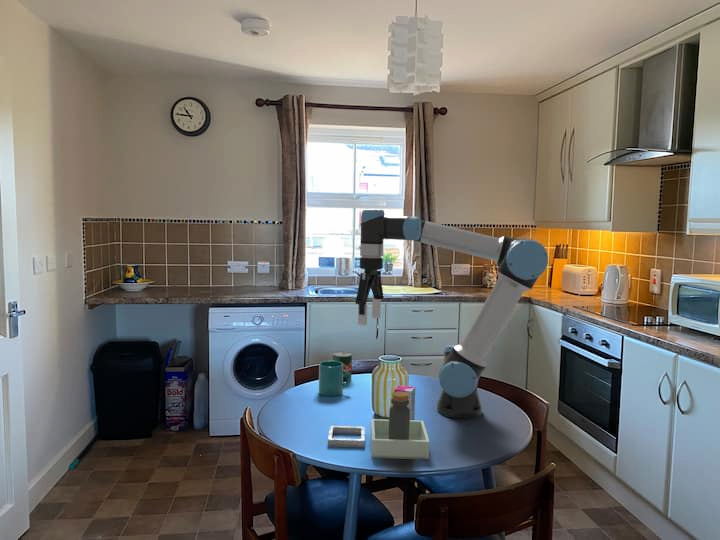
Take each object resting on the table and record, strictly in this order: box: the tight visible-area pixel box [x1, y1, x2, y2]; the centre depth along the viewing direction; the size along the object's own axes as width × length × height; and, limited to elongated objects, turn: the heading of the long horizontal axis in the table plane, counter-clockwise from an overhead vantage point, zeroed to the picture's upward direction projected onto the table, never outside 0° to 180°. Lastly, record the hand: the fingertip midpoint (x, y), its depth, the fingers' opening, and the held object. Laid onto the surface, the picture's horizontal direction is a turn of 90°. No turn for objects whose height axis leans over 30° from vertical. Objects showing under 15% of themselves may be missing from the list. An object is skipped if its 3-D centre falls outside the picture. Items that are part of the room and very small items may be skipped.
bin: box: [370, 418, 430, 460], centre depth 152 cm, size 16×16×5 cm
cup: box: [318, 360, 352, 397], centre depth 199 cm, size 9×12×11 cm
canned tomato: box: [332, 350, 353, 382], centre depth 216 cm, size 8×8×11 cm
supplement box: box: [393, 385, 416, 420], centre depth 171 cm, size 6×6×12 cm
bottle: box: [388, 391, 410, 440], centre depth 152 cm, size 6×6×15 cm
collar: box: [327, 425, 366, 448], centre depth 156 cm, size 10×10×2 cm
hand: (369, 321), depth 175 cm, fingers open, 13 cm apart
